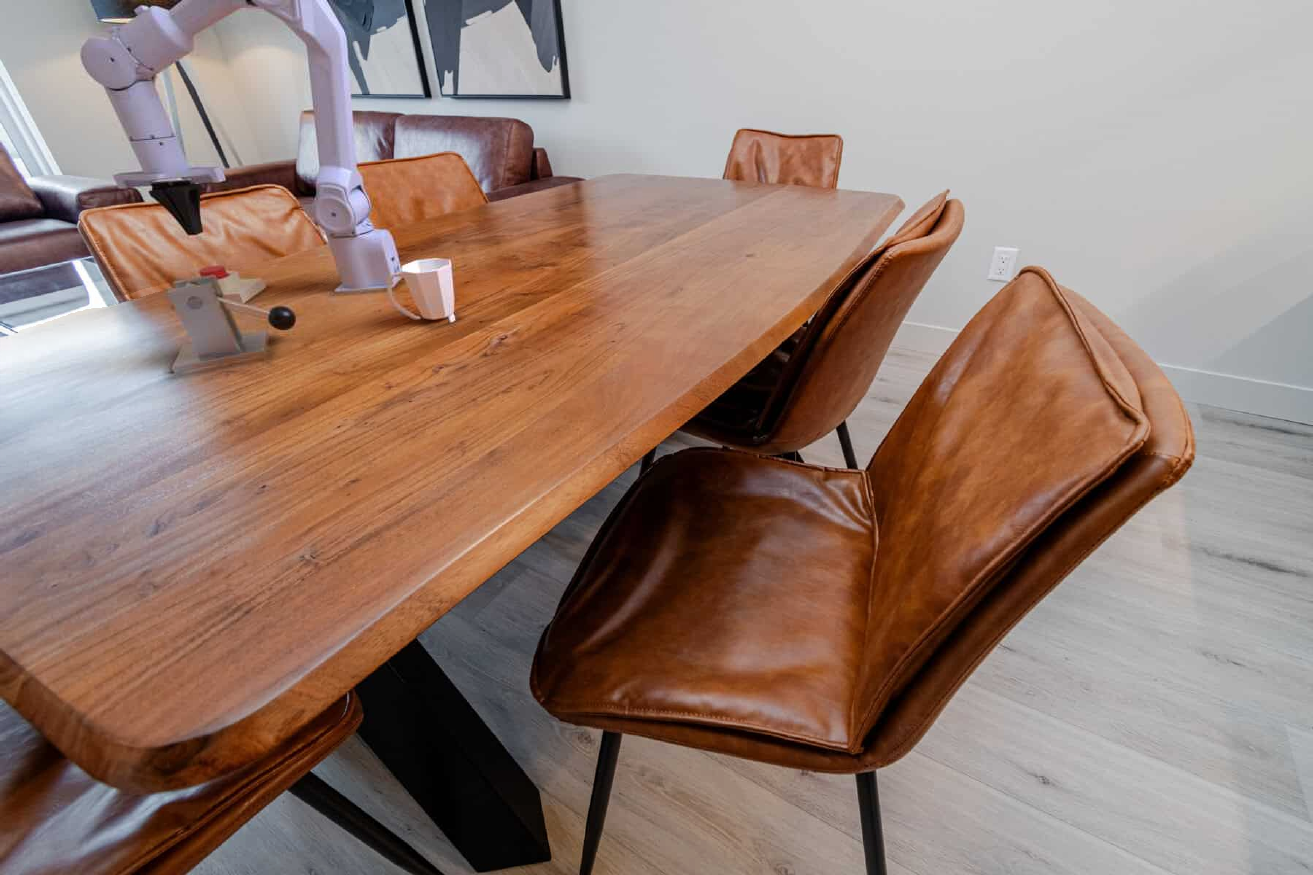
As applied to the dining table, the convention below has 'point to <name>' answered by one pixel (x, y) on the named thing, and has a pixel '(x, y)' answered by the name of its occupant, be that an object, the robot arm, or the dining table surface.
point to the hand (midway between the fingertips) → (195, 233)
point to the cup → (427, 288)
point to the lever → (261, 312)
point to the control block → (240, 287)
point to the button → (214, 272)
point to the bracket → (210, 327)
